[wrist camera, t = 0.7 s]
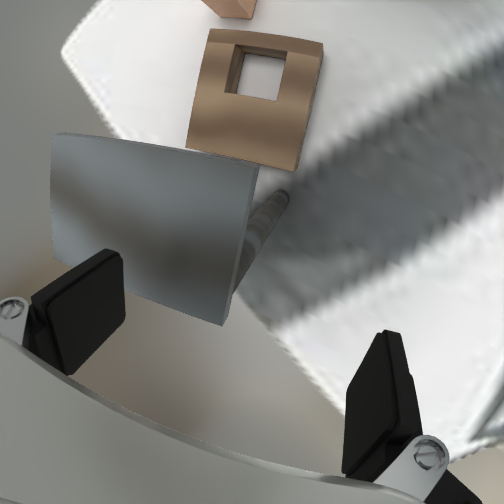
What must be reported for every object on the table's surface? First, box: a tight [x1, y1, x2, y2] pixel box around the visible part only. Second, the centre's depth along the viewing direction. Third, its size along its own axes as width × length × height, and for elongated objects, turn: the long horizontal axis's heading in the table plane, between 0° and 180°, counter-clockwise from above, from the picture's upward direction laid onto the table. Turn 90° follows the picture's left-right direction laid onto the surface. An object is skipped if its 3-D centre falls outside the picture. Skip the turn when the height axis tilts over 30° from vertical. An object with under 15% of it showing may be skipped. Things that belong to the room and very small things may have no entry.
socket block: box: [50, 29, 324, 326], centre depth 23 cm, size 20×12×23 cm, turn 168°
